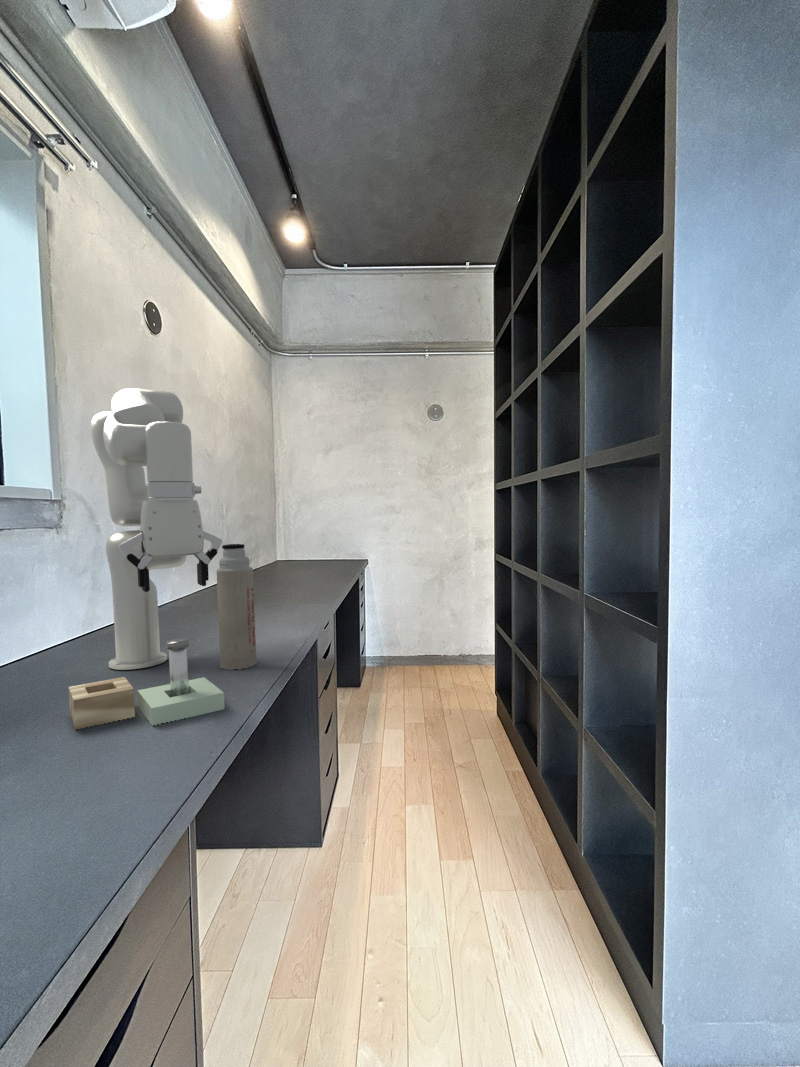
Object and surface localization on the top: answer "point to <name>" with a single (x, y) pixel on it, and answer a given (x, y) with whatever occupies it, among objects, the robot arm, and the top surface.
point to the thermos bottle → (236, 609)
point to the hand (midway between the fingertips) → (174, 587)
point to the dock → (180, 701)
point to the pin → (178, 666)
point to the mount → (101, 702)
